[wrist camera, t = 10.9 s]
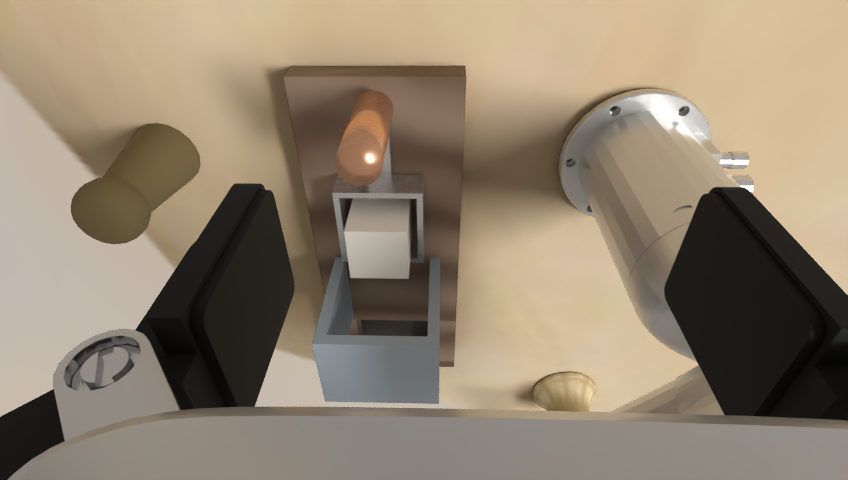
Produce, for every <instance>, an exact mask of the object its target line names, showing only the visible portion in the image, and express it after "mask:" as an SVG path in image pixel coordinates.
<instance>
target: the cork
mask: <svg viewBox="0 0 848 480" xmlns="http://www.w3.org/2000/svg"><path fill="white" fill-rule="evenodd" d="M199 168H200V156H199V154H198V151H197V149H196V147H195V146H194V144H193V143H192V142H191V141H190V139H189V138H188V137H186V136H185V135H184V134H183V133H181V132H180V131H179V130H176V129H174V128H172V127H170V126H168V125H163V124H158V123H156V124H147V125H145V126H143V127H140V128H139V129H138V130H137V131H136V133H135V134H134V135H133V136H132V138H131V139H130V141H129V142H128V143H127V145H126V146H125V147H124V149H123V150H122V152H121V153H120V154H119V156H118V157H117V158H116V160H115V161H114V163H113V164H112V165H111V167H110V168H109V169H108V171H107V172H106V174H105V175H104V176H103V178H98V179H95V180H93V181H91V182H88V183H86V184H84V185H83V186H82V187H81V188H80V189H79V190H78V191H77V192H76V193H75V195H74V197H73V199H72V204H71V213H72V216H73V220H74V221H75V223H76V224H77V225H78V227H79V228H80V229H81V230H82V231H84V232H85V233H86V234H87V235H89V236H91V237H92V238H94V239H96V240H99V241H101V242H104V243H110V244H121V243H127V242H129V241H131V240H134V239H135V238H137V237H139V236H140V235H141V234H142V233H143V232H144V230H145V229H146V228H147V227H148V224H149V220H150V217H151V212H152V211H153V210H155V209H156V208H157V207H158V206H159V205H161V204H162V203H163V202H164V201H166V200H167V199H168V198H169V197H170V196H172V195H173V194H174V193H175V192H177V191H178V190H179V189H180V188H181V187H183V186H184V185H185V184H186V183H188V182H189V181H190V180H191V179H192V178H193V177H194V176H195V175H196V174H197V173H198V171H199Z"/></svg>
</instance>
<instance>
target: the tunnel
mask: <svg viewBox="0 0 848 480" xmlns="http://www.w3.org/2000/svg"><path fill="white" fill-rule="evenodd" d="M353 314H354V313H353V306H352V299H351V292H350V285H349V278H348V271H347V264H346V262H342V257H335V261H334V265H333V268H332V272H331V276H330V279H329V283H328V287H327V290H326V294H325V298H324V301H323V305H322V309H321V312H320V316H319V320H318V323H317V327H316V331H315V334H314V338H313V342H312V347H313V351H314V356H315V360H316V364H317V368H318V373H319V377H320V381H321V385H322V389H323V394H324V398H325V401H334V402H335V401H336V402H381V403H383V402H384V403H385V402H386V403H429V404H430V403H431V404H438V403H439V348H440V258H430V274H429V305H428V335H427V336H367V335H349V334H350V329H351V324H352V319H353Z"/></svg>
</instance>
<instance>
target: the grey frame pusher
mask: <svg viewBox="0 0 848 480" xmlns="http://www.w3.org/2000/svg"><path fill="white" fill-rule="evenodd" d="M393 113H394V108H393V104H392V102H391V100H390V99H389V97H388V96H387V95H385V94H384V93H382V92H379V91H375V90H370V91H366V92H364V93H362V94H361V95H360V96H359V97H358V98H357V100H356V102H355V105H354V108H353V110H352V113H351V116H350V119H349V121H348V124H347V127H346V129H345V132H344V135H343V138H342V140H341V143H340V146H339V149H338V151H337V154H336V157H335V169H336V171H337V173H338V177H337V180H336V183H335V186H334V189H333V192H332V196H333V202H334V209H335V216H336V222H337V229H338V236H339V242H340V249H341V255H342V262H348V257H347V250H346V242H345V235H344V230H345V226H346V222H347V218H348V215H349V208H348V201H347V198H389V199H417V236H418V238H412V244H411V256H410V263H424V245H425V231H424V175H392V158H391V140H390V129H391V124H392V118H393Z"/></svg>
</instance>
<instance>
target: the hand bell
mask: <svg viewBox="0 0 848 480" xmlns="http://www.w3.org/2000/svg"><path fill="white" fill-rule="evenodd" d="M595 393H596V384H595V382H594V381H593V380H592V379H591V378H590V377H588V376H586V375H584V374H581V373H575V372H562V373H556V374H553V375H550V376H548V377H546V378H544V379H542V380H541V381H540V382H538V383H537V385H536V386H535V388H534V389H533V397H534V400H535V401H536V402H537V403H538V405H540V406H541V407H542V408H544V409H546V410H547V411H574V412H589V405H590V402H591V401H592V399H593V398H594V396H595Z"/></svg>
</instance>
